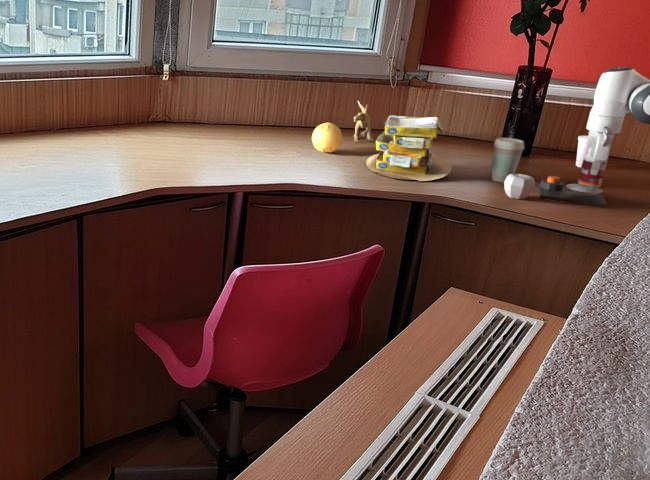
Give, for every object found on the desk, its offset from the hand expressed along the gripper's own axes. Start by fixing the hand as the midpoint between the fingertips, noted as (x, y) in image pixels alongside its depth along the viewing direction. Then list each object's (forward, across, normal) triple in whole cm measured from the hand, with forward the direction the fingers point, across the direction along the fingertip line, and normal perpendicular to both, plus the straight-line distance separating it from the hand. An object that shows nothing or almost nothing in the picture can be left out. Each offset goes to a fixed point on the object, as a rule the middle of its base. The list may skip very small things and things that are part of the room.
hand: (592, 171), depth 212 cm
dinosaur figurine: (+5, +26, +72) cm, 77 cm away
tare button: (+2, -15, +11) cm, 19 cm away
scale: (+4, -18, +6) cm, 19 cm away
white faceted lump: (+4, -27, +20) cm, 34 cm away
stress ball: (+5, -2, +79) cm, 79 cm away
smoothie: (+4, +26, 0) cm, 26 cm away
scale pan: (+1, -20, +3) cm, 21 cm away
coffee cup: (+4, -8, +24) cm, 26 cm away
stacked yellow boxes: (+4, -13, +51) cm, 53 cm away
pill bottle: (+4, 0, 0) cm, 4 cm away
